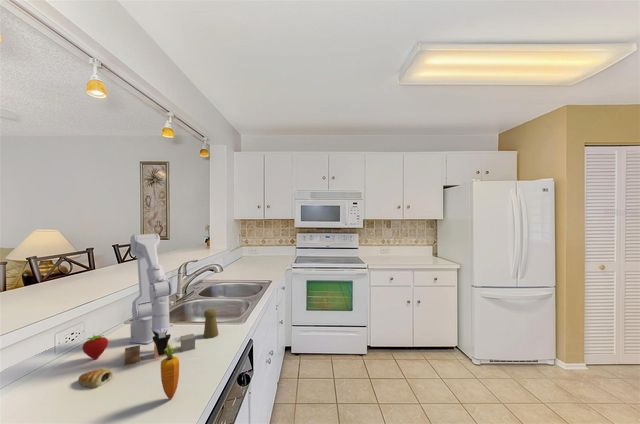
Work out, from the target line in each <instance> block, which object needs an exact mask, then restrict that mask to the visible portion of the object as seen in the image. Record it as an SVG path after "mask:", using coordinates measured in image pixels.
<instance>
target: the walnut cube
mask: <svg viewBox="0 0 640 424" xmlns="http://www.w3.org/2000/svg"><path fill="white" fill-rule="evenodd" d="M139 363H141V345H139V344H138V345H134V346H130V347H128V346H127V347H125V348H124V366H126V367H127V366H130V365H134V364H139Z"/></svg>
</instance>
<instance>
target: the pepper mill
mask: <svg viewBox="0 0 640 424" xmlns="http://www.w3.org/2000/svg"><path fill="white" fill-rule="evenodd" d="M203 315H204V316H203V317H204V318H205V320H204V331H203V338H205V339H211V338H212V339H213V338H216V337H218V336H219V330H218V324H217V315H218V311H217V309H215V308H208V309H206V310H204V312H203Z"/></svg>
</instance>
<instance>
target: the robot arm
mask: <svg viewBox="0 0 640 424" xmlns="http://www.w3.org/2000/svg"><path fill="white" fill-rule="evenodd" d="M129 243H130V252H131V255H132V256H135V257H136V259H137V260H136V261H137V272H138V273H137V274H138V287H139V288H138V289H139V290H138V291H139V295H138V296H137V297H136V298H135V299H134V300H133V301H132V302H131V304H132V308H131V315H132V318H133V320H132V322H131V323H130V328H129V329H130V340H129V341H128V343H134V344H135V343H136V344H143V345H148V344H151V343H152V342H153V343H154V342H155V344H156V347H157V351H158V355H159V356H161V355H165V351H164V350H165V349H166V348H167V343H168V344H169V340H170V339H171V334H170V333H168V330H169V328H171V327H173V326H174V323H173V322H170V296H171V294H172V285H171V281H170V280H169V278H168V277H166V273H165V270H164V266H163V265H161V264H159V263H160V262H159V258H158V252H157V251H158V250H159V247H160V244H161V237H160V234H159V233H158V232H155V233H143V234H132V235H131V237H130V242H129ZM167 333H168V334H167Z"/></svg>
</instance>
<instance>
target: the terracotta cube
mask: <svg viewBox="0 0 640 424" xmlns="http://www.w3.org/2000/svg"><path fill="white" fill-rule="evenodd" d="M168 345H170V344H169V342H168V343H167V351H168ZM153 350H154V353H153V354H154V355H153V356H154V359H160V358H163V357H167V356H166V354H165V355H161V356H159V355H158V351H157V347H156V344H155V342H154V341H153Z"/></svg>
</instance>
